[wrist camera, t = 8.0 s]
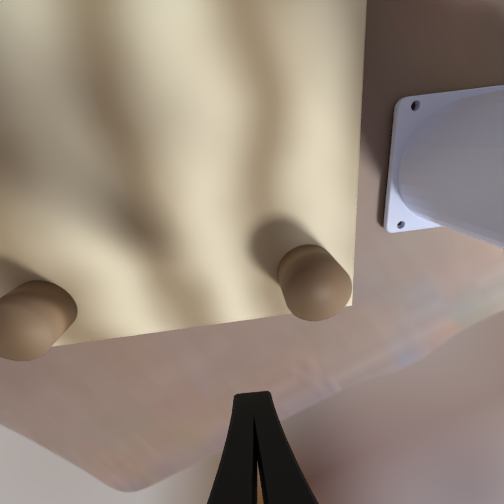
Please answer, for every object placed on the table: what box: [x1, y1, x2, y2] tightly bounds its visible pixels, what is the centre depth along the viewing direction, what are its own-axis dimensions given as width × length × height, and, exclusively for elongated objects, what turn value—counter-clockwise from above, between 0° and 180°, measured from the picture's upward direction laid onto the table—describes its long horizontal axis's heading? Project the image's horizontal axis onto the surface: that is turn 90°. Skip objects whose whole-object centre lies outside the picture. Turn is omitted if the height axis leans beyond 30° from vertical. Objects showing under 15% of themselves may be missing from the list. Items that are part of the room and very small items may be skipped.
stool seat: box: [0, 0, 367, 361], centre depth 12 cm, size 22×22×5 cm
